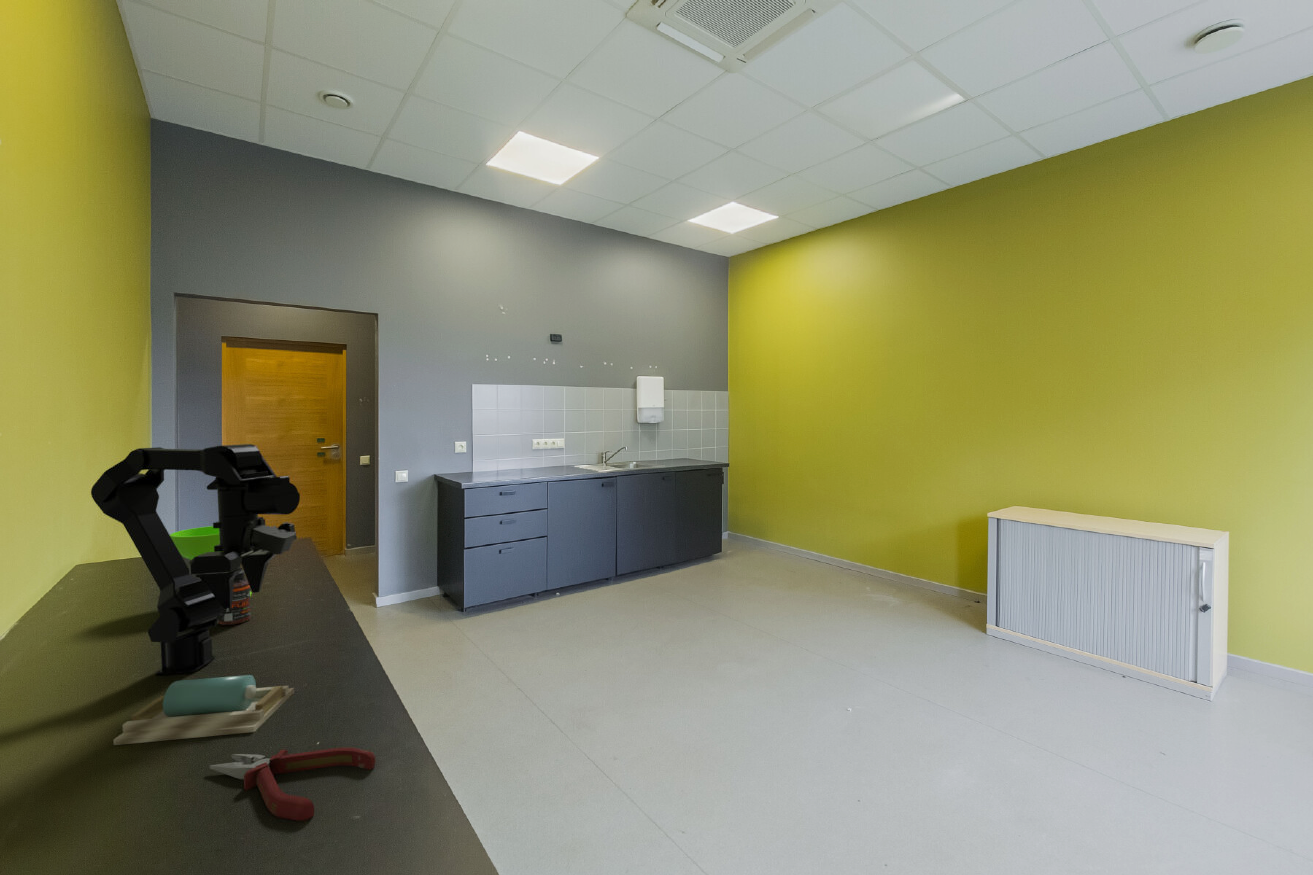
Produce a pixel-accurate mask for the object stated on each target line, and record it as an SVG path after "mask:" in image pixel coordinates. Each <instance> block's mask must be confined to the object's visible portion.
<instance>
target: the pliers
mask: <svg viewBox="0 0 1313 875" xmlns="http://www.w3.org/2000/svg"><path fill="white" fill-rule="evenodd" d="M230 756H231V758H232V759H233V760H235V762H234V761H233V762H225V763H218V764H210V765H209V766H208V768H209V769H210V770H212V771H216V772H219V773H221V774H224V775H227V776H229V777H232V778H235V779H239V780H243V787H244V790H245V791H247V790H250V789H253V788H255V787H257V788H258V790H259V792H260V794H261V797H262V799H263V801H264V804H265V806H266V808H267V810H268V811H269V812H270V813H271V814H272V815H274V816H275V817H277V818H282V819H285V820H293V821H297V822H298V821H299V822H304V821H307V820H309V819H311V818H313V817H314V815H315V806H314V803H313V802H312V800H311V799H309V798H307V797H304V796H298V795H292V794H288V793H285V792H284V791H282V790H281V788H280V786H279V785H278V782H277V780H276V779H275V777H274V775H279V774H285V773H286V774H287V773H293V772H299V771H300V772H301V771H307V770H313V769H320V768H327V767H334V766H351V767H356V768H360V769H361V768H362V769H366V770H371V771H372V769H374V767H375V765H376V756H375V754H374V753H373V752H372V751H370V750H365V749H360V748H357V747H348V746H347V747H346V746H345V747H335V748H327V749H320V750H313V751H304V752H299V753H290V754H289V753H288V749H286V748H285V749H280V750H279V752H278V753H277V754H273V755H272V756H271V757H270V758H266V755H262V754H246V753H243V754H241V753H239V754H238V753H232V754H230Z"/></svg>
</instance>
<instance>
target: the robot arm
mask: <svg viewBox="0 0 1313 875" xmlns="http://www.w3.org/2000/svg"><path fill="white" fill-rule="evenodd" d="M165 470H169V471H198V472H202V474H204V475H205V476H210V477H215V479H214V480H213V481H212V482H209V484H208V485H207V486H206V490H207V491H217V510H218V511H217V512H218V520H217V521H215V522H212V526H213V529H214V528H219V537H220V544H218V545H216V546H214V552H207V553H204V554H201V555H198V556H196V557H194V558H193V559H192V560H190V561H189V562H188V564H187V563H186V561H185V560H184V557H183V556H182V555H181V554H180V552H179V551H178V549H177V547H176V545H175V544H174V542H173V540H172V538H171V537H170V533H169V531H168V529H167V528H166V526H165V524H164V522H163V521H162V519H161V517H160V516H159V514H158V512H157V509H158V508H157V507H158V504H159V499H160V495H159V493H158V488H159V487H160V486H161V485H162V483H163V482H164V481H165ZM142 471H146V472H145V473H141V472H142ZM290 478H291V477H290V476H289V475H280V476H277V474H276V473H275V472H274V470H273V468H272V467H271V466H270V465H269V462H267V460H266V459H265V457H264V456H263V455H262V453H261V451H260V450H259V448H258V446H257V445H256V444H252V443H247V444H246V443H244V444H243V443H242V444H227V445H226V444H225V445H224V444H223V445H216V446H210V447H205V448H202V449H198V448H196V449H195V448H194V449H193V448H192V449H191V448H163V447H158V446H157V447H140V448H136V449H134V450H131V451H130V452H129V453H128V454H127V455H126V457H125V458H124V459H122V460H121V461H119V462H118V463H116V464H114V465H113V466H111V467H109V468H108V469H107V470H105V471H104V472H103V473H101V475H100V477H99V478H98V479H97V480H96V481H95V483H94V484H93V486H92V487H91V489H90V493H91V494H90V495H91V498H92V500H93V501H94V503H95V504H96V506H98V508H99V509H100V511H101V512H102V514H104V516H105V515H106V516H108V517H109V518H111V519H113V520H115V521H117V522H119V523H121V524H122V525H123V527H124V529H125V530H126V532H127V534H128V535H129V537H130V539H131V541H132V543H133V544H134V547H135V548H136V550H137V552H138V553H139V555H140V556H141V559H142V560H143V562H144V564H145V566H146V567H147V569H148V571H149V573H150V574H151V576H152V579H153V580H154V581H155V583H156V585H157V587H158V588H159V596H158V602H157V606H156V608H157V610H158V613H159V616H158V618H157V619H156V620H155V622H154V623H153V624H152V625H151V626H150V628H149V629H148V630H147V633H148V636H149V639H150V642H151V643H160V659H161V663H160V664H161V668H159V669H158V670H157V671H155V672H154V673H155V674H154V675H156V676H162V675H174V674H184V673H186V674H187V673H193V672H196V671H198V670H199V669H201V668H202V667H204V666H205V665H207V664H209V663H210V662H211V661H213V660H215V659H216V655H215V654H214V655H213V642H212V640H213V639H212V637H211V636H210V632H209V631H210V630H209V629H211V628H215V627H217V624H218V622H219V620H218V618H219V614H220V611H221V607H223V608H224V609H226V608H230V607H231V605H232V598H233V586H234V578H235V576H236V575H237V574H238V573H239V572H240V571H244V576H245V577H246V578H245V579H246V580H248V583H249V586H250V591H251V593H252V594H256V593H260V591H261V588H262V585H263V581H264V578H265V574H266V572H267V569H268V568H267V567H268V566H269V563H270V561H271V560H273V559H274V558H275V557H276V556H277V555H281V554H283V553H284V552H288V551H290V549H291V547H292V545H293V542H295V541H296V540H297V539H298V536H297V532H296V529H295V524H294V523H292V522H282V523H281V524H280V525H279V526H278V527H277V525H274V526H269V525H266V518H264V516H259V515H282V516H285V515H290V514H293V513H294V512H295V511H296V510H297V508H298V506H299V503H300V500H301V495H300V494H301V493H300V492H299V491H298V488H297V487H296V485H295V484H293V483H291V481H290V480H291V479H290ZM219 551H222V552H219ZM240 567H241V568H240Z"/></svg>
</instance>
